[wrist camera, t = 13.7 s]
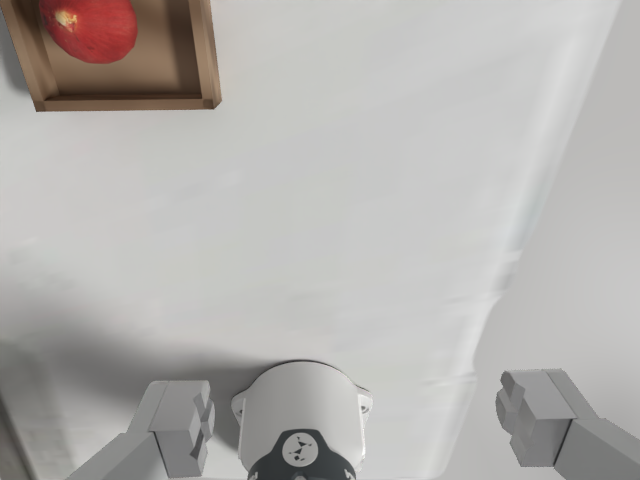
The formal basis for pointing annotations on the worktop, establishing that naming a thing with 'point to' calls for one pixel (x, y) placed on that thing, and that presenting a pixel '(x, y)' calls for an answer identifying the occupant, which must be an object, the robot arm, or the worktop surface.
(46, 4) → the onion
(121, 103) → the walnut tray
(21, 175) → the worktop surface
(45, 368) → the worktop surface
